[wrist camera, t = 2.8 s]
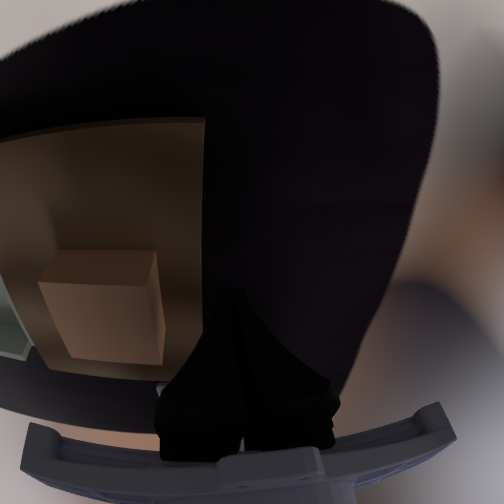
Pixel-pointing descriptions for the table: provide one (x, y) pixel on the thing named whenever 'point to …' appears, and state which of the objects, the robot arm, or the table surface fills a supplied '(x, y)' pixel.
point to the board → (106, 222)
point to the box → (12, 329)
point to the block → (107, 304)
